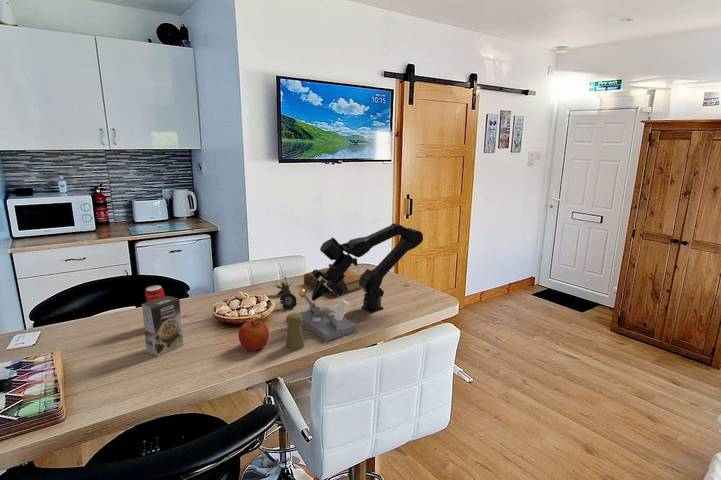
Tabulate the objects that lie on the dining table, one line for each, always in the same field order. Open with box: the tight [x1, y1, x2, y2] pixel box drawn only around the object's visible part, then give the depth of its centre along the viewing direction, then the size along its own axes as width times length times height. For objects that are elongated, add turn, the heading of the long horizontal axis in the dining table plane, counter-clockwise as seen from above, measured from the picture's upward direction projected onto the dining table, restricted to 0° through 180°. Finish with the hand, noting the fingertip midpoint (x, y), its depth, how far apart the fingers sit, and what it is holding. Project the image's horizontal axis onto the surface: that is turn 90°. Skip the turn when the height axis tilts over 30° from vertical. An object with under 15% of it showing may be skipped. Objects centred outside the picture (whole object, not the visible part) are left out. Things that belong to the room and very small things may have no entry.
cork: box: [285, 312, 305, 351], centre depth 132 cm, size 6×6×11 cm
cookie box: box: [141, 295, 184, 357], centre depth 128 cm, size 9×6×16 cm
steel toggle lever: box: [297, 288, 317, 312], centre depth 150 cm, size 3×3×11 cm
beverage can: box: [144, 284, 166, 302], centre depth 144 cm, size 6×6×15 cm
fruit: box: [237, 317, 270, 351], centre depth 131 cm, size 10×10×10 cm
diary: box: [303, 266, 363, 298], centre depth 189 cm, size 23×19×6 cm
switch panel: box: [298, 302, 358, 343], centre depth 147 cm, size 13×21×6 cm, turn 38°
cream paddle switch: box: [330, 298, 351, 326], centre depth 142 cm, size 2×4×9 cm, turn 28°
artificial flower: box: [273, 276, 298, 310], centre depth 172 cm, size 9×22×10 cm, turn 9°
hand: (312, 300), depth 151 cm, fingers closed
